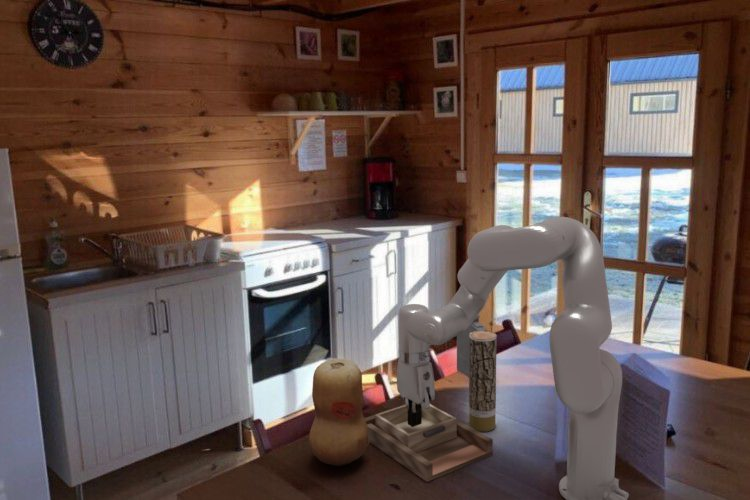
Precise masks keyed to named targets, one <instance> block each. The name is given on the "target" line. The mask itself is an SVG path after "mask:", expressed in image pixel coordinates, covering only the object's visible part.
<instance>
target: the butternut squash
mask: <svg viewBox="0 0 750 500" xmlns="http://www.w3.org/2000/svg"><path fill="white" fill-rule="evenodd" d="M363 391H364V390H363V375H362V371H361V370H360V367H359V366H358V365H357V364H356V363H355V362H353V360H351V359H348V358H338V357H337V358H335V357H334V358H329V359H327V360H325V361H323V362H322V363H321V364H319V365H318V366H317V367H316V369H315V370H314V372H313V377H312V389H311V392H312V393H311V395H312V402H313V407H314V408H313V409H314V419H313V422H312V425H311V428H310V431H309V436H308V442H309V443H308V444H309V448H310V450H311V452H312V454H313V455H314V456H315V457H316V458H317V459H318V460H319V461H320V462H321V463H324V464H327V465H331V466H335V467H343V466H345V465H349V464H351V463H353V462H354V461H356V460H358V459H360V458H361V456H362V455H364V454H366V449H367V447H368V446H369V444H370V442H369V438H368V429H367V424H366V421H365V419H364V418H365V416H364V414H363V408H364V406H365V402H366V401H365V397H364V394H363Z"/></svg>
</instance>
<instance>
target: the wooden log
mask: <svg viewBox="0 0 750 500" xmlns="http://www.w3.org/2000/svg"><path fill="white" fill-rule="evenodd" d="M497 343H498V341H497V334H496V333H495V332H493V331H488V330H487V331H475V332H472V333H470V336H469V377H468V426H469V427H471V428H473V429H475V430H476V431H478V432H480V433H482V432H483V433H484V432H485V433H486V432H490V431H492V430H494V429H495V427H496V413H497V411H496V408H497V407H496V405H497V403H496V401H497V399H496V398H497Z"/></svg>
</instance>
